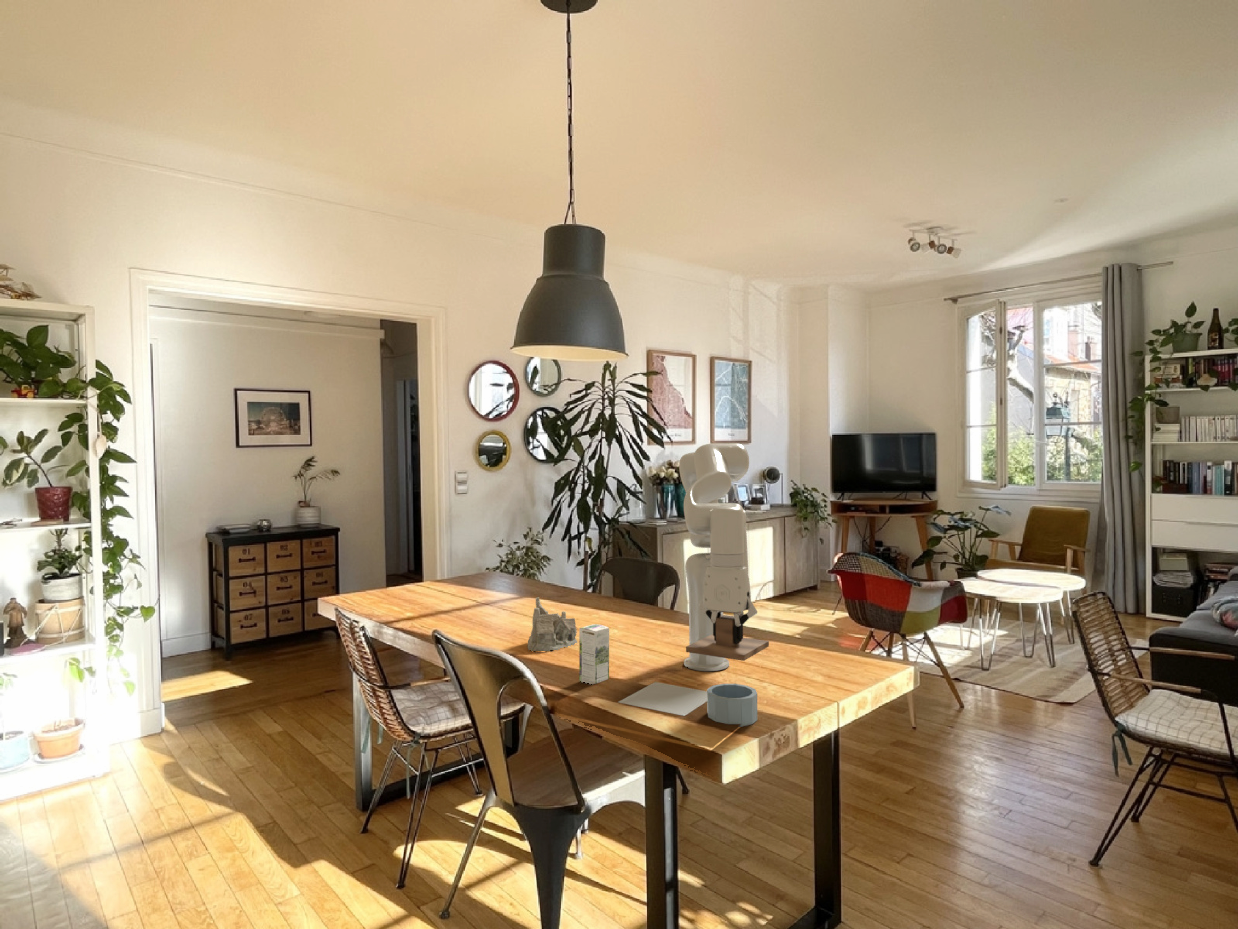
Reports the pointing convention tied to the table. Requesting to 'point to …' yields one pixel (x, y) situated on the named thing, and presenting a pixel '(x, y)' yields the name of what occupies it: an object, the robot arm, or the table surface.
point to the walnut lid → (727, 643)
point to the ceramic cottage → (551, 630)
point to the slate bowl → (732, 704)
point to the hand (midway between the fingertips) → (728, 640)
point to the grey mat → (667, 698)
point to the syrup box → (593, 653)
